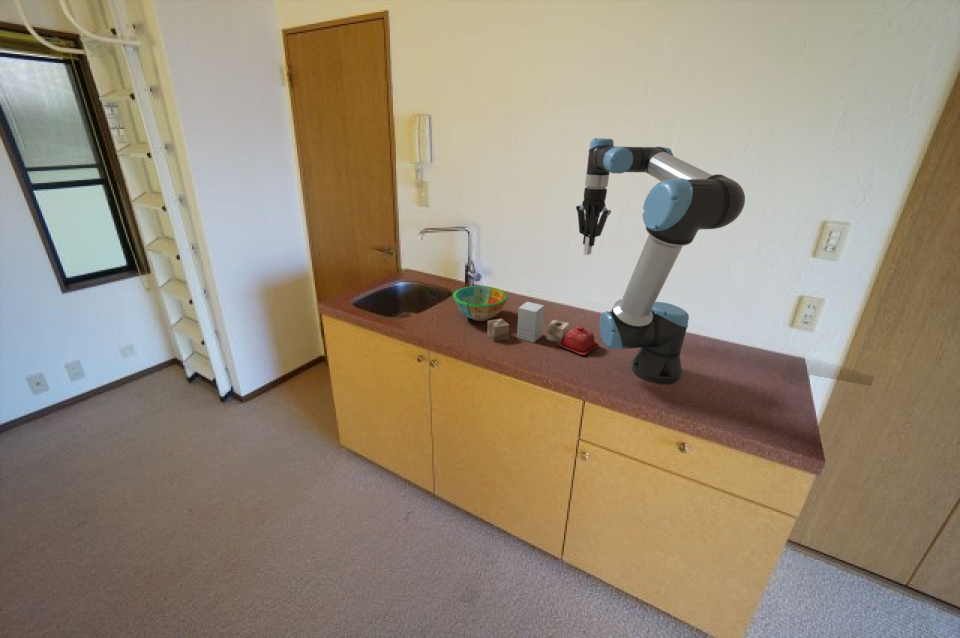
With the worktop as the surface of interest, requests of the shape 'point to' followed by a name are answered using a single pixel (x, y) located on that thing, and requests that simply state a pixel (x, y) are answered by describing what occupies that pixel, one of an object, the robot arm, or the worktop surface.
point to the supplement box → (530, 321)
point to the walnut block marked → (498, 329)
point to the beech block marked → (557, 331)
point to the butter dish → (579, 341)
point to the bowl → (480, 301)
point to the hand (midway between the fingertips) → (587, 254)
